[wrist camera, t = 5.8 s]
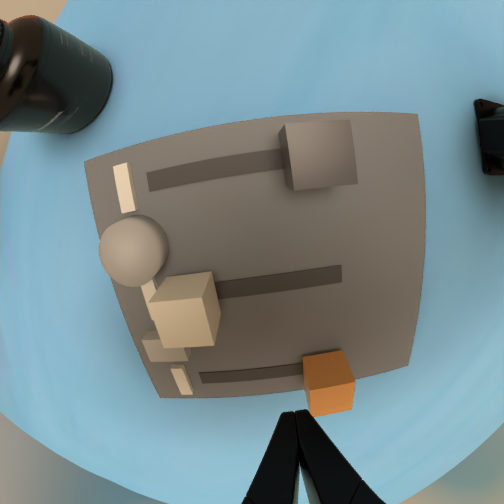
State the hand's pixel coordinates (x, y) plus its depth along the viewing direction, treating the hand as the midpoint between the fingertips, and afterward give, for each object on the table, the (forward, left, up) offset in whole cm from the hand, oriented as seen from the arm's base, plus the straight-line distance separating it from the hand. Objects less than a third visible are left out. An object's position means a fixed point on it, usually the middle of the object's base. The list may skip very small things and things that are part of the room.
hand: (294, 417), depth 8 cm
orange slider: (-3, +7, -10) cm, 13 cm away
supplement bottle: (+12, -16, -12) cm, 24 cm away
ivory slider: (+5, 0, -10) cm, 11 cm away
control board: (0, 0, -12) cm, 12 cm away
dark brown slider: (-3, -8, -10) cm, 13 cm away
